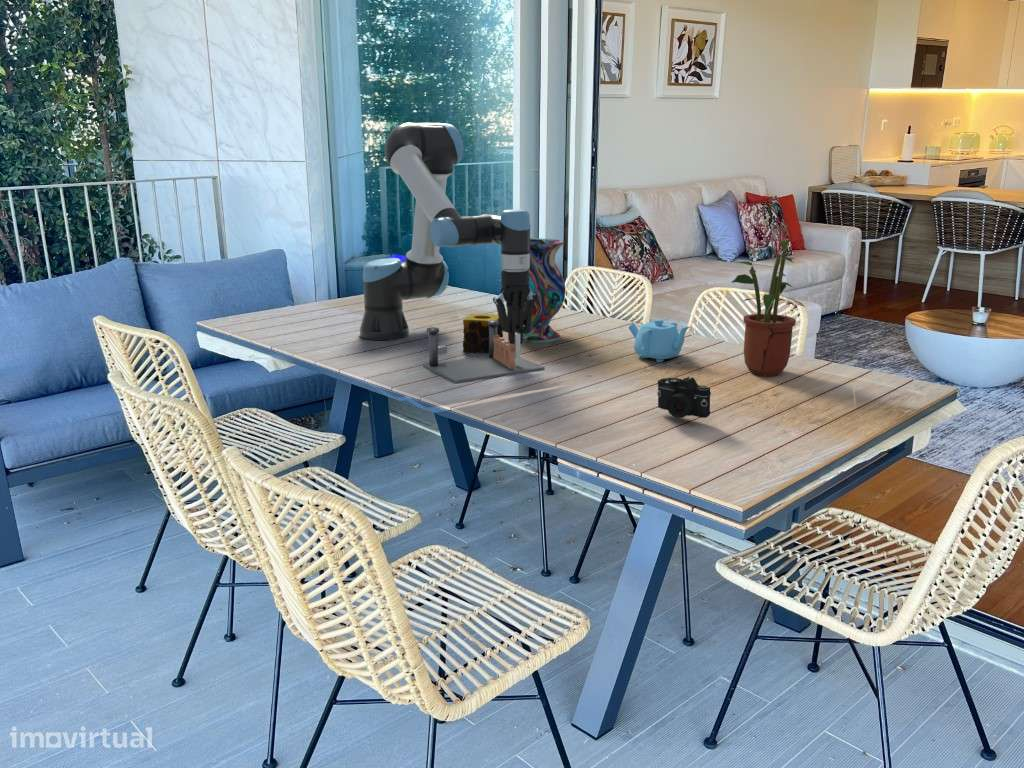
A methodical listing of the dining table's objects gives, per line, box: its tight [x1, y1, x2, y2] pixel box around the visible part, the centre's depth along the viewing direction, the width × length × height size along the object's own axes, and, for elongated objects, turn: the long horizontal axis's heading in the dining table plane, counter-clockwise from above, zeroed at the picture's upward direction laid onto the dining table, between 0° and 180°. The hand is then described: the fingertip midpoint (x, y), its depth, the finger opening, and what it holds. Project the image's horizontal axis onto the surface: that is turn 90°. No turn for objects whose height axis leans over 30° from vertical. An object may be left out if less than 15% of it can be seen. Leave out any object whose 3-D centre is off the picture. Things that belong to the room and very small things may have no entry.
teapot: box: [627, 318, 691, 363], centre depth 243 cm, size 15×14×11 cm
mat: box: [422, 354, 546, 384], centre depth 234 cm, size 19×27×1 cm
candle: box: [462, 313, 504, 355], centre depth 253 cm, size 10×10×10 cm
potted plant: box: [730, 240, 797, 377], centre depth 224 cm, size 17×16×35 cm
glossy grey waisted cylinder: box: [487, 320, 499, 358], centre depth 242 cm, size 3×3×11 cm
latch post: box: [426, 326, 448, 367], centre depth 234 cm, size 5×6×11 cm
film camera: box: [656, 375, 712, 419], centre depth 193 cm, size 13×8×10 cm, turn 54°
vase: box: [523, 237, 566, 344], centre depth 264 cm, size 18×18×30 cm
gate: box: [493, 335, 515, 369], centre depth 234 cm, size 13×2×6 cm, turn 21°
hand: (515, 356), depth 235 cm, fingers closed
